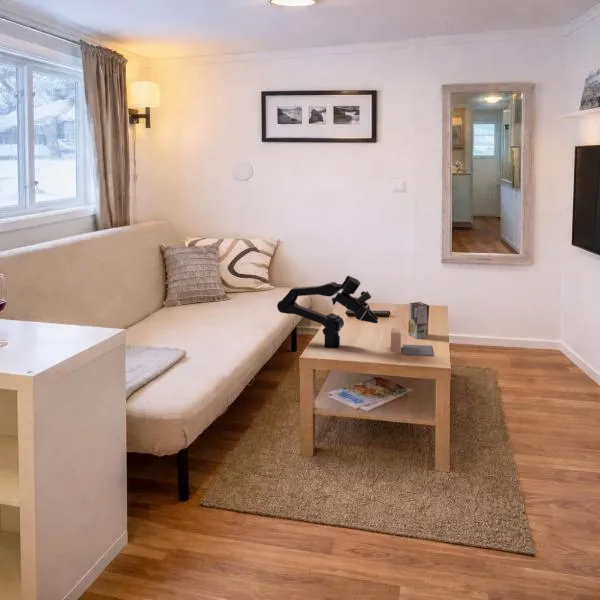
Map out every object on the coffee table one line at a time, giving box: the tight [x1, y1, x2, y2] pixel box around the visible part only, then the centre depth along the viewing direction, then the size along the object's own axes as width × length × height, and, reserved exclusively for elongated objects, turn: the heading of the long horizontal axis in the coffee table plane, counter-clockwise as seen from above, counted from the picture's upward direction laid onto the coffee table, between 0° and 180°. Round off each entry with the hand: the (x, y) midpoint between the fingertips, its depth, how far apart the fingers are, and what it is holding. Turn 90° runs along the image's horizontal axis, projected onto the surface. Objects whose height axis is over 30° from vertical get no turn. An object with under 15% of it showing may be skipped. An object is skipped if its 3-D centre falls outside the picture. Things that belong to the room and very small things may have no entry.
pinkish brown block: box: [390, 327, 402, 354], centre depth 293 cm, size 4×10×9 cm, turn 172°
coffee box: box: [407, 301, 430, 340], centre depth 316 cm, size 9×6×16 cm
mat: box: [402, 344, 434, 357], centre depth 292 cm, size 13×16×1 cm
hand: (377, 320), depth 292 cm, fingers open, 9 cm apart
